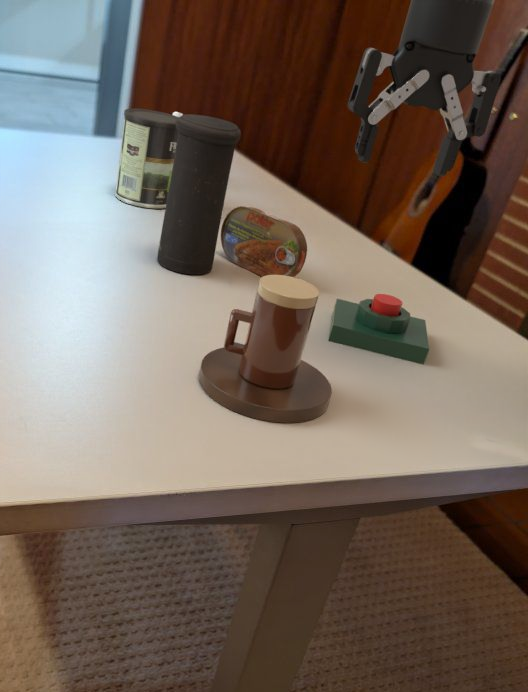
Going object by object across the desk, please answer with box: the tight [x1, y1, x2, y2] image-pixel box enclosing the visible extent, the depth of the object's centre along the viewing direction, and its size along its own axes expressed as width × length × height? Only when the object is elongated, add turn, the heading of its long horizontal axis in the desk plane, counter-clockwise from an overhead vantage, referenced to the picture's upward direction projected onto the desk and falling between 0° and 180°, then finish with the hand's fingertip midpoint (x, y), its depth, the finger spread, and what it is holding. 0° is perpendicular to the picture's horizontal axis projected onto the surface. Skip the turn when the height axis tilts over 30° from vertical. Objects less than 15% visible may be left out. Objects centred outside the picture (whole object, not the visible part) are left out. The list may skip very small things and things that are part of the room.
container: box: [156, 113, 242, 275], centre depth 103 cm, size 9×9×20 cm
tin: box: [220, 205, 308, 278], centre depth 110 cm, size 15×3×8 cm, turn 43°
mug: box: [223, 275, 320, 389], centre depth 77 cm, size 8×6×10 cm
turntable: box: [198, 346, 333, 424], centre depth 80 cm, size 14×14×2 cm
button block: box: [327, 298, 430, 365], centre depth 97 cm, size 12×10×4 cm
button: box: [370, 293, 403, 317], centre depth 95 cm, size 4×4×2 cm
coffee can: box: [114, 108, 179, 210], centre depth 130 cm, size 10×10×14 cm
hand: (401, 167), depth 80 cm, fingers open, 8 cm apart
